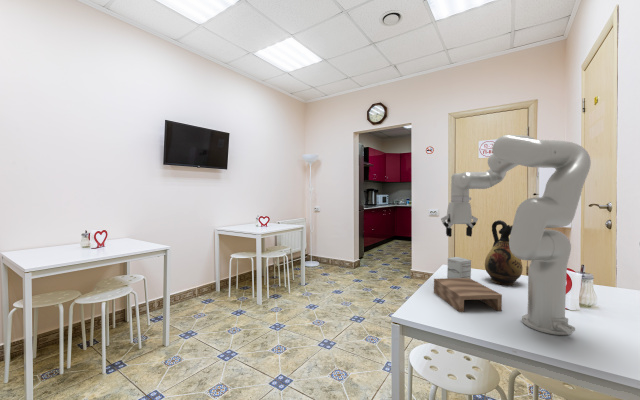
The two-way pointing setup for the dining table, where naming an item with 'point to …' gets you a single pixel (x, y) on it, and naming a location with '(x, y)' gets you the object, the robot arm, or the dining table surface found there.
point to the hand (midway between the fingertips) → (458, 236)
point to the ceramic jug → (502, 257)
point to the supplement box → (459, 268)
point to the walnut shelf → (466, 292)
